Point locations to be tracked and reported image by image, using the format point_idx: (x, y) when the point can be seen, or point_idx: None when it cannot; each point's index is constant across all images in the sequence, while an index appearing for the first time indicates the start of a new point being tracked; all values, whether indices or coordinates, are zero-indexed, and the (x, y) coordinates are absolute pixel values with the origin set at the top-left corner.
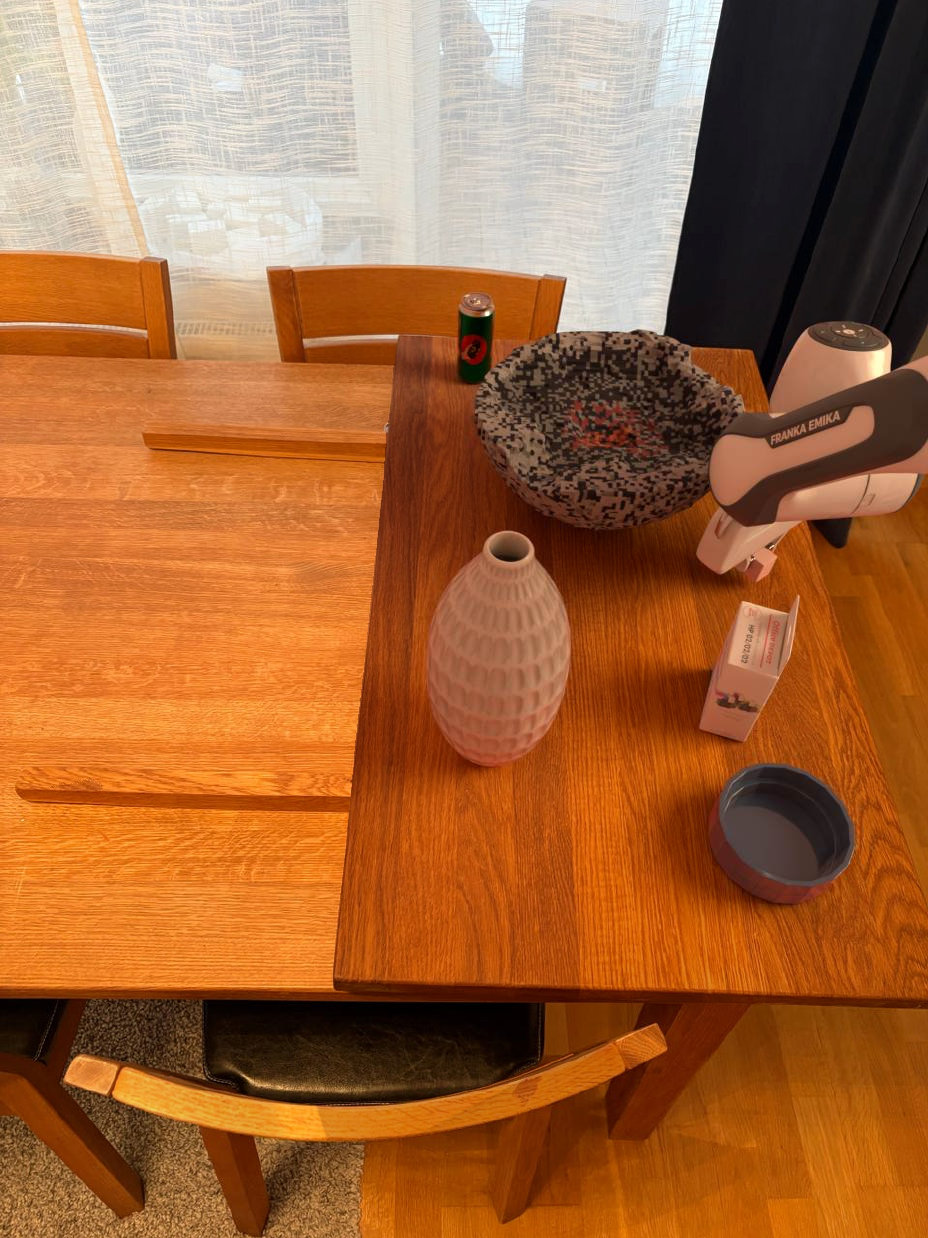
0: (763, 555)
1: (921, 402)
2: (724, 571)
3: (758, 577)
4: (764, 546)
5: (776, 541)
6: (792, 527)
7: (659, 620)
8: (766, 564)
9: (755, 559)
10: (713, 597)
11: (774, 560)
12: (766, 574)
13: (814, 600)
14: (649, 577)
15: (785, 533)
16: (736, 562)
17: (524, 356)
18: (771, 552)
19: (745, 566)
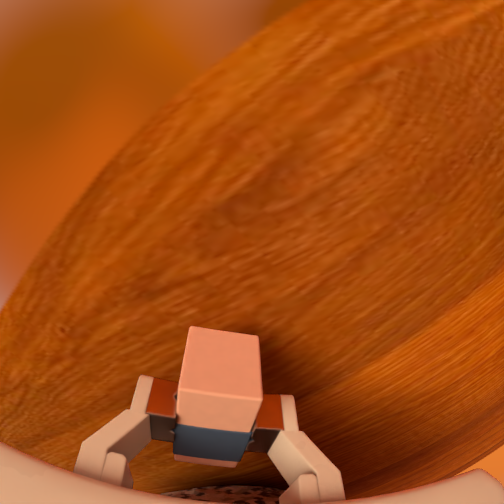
0: (217, 415)
1: None
2: (486, 477)
3: (257, 351)
4: (177, 423)
5: (140, 424)
6: (107, 493)
7: (435, 372)
8: (246, 395)
9: (254, 420)
10: (331, 352)
11: (192, 379)
12: (207, 332)
13: (138, 153)
14: (347, 425)
15: (101, 436)
16: (458, 497)
17: None
18: (182, 406)
19: (296, 417)
